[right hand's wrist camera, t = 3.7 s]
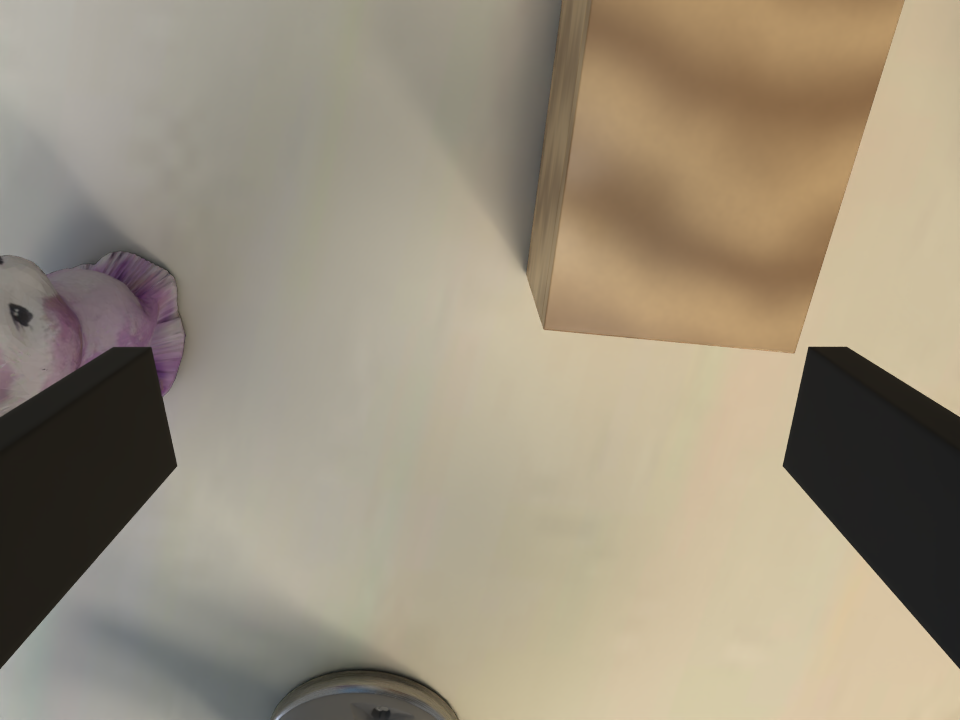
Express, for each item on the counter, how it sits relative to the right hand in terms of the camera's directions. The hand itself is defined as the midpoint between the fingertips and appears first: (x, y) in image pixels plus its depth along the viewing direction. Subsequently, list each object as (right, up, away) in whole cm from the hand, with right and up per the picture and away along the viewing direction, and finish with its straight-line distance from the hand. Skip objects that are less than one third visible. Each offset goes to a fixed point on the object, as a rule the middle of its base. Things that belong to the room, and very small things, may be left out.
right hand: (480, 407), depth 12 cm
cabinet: (+9, +15, +18) cm, 25 cm away
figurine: (-21, +3, +22) cm, 31 cm away
